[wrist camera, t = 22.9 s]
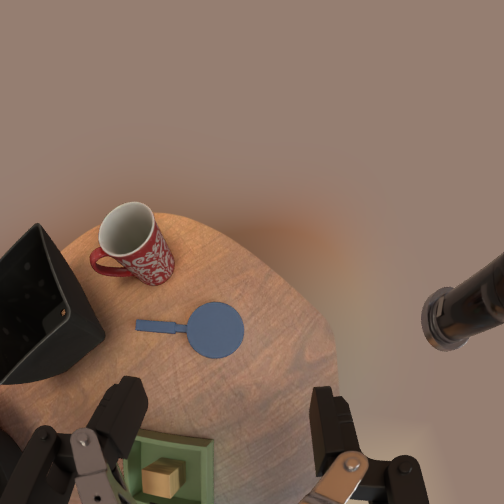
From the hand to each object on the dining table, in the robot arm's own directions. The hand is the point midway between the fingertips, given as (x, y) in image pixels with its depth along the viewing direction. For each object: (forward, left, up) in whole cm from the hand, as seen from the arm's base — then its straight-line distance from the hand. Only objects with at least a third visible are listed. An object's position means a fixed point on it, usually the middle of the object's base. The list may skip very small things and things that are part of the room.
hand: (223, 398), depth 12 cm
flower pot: (+34, -7, -31) cm, 46 cm away
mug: (+19, -19, -31) cm, 41 cm away
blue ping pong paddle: (+11, -9, -31) cm, 34 cm away
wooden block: (+12, +15, -30) cm, 36 cm away
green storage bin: (+12, +15, -31) cm, 36 cm away
